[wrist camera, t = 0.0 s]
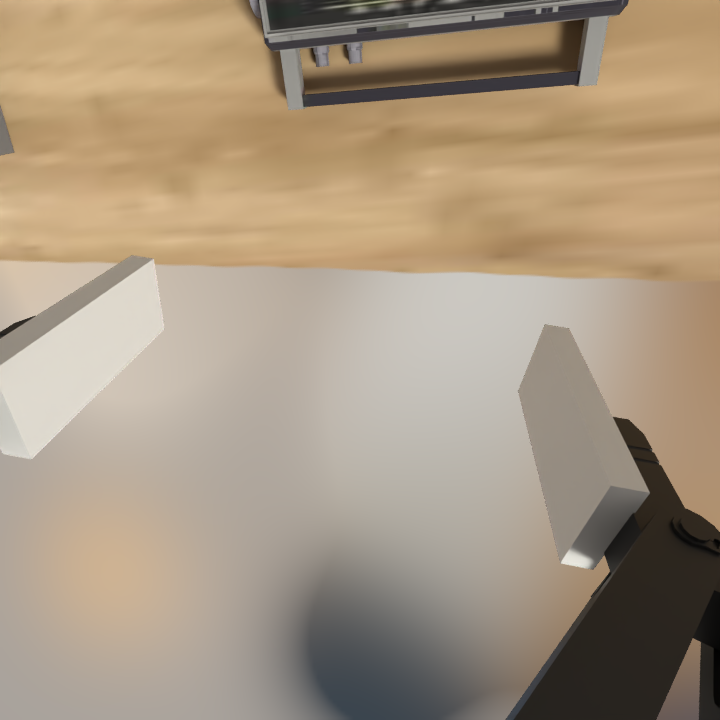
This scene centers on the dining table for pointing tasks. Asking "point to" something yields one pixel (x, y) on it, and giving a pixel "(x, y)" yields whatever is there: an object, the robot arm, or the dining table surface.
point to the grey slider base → (4, 137)
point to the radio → (413, 19)
